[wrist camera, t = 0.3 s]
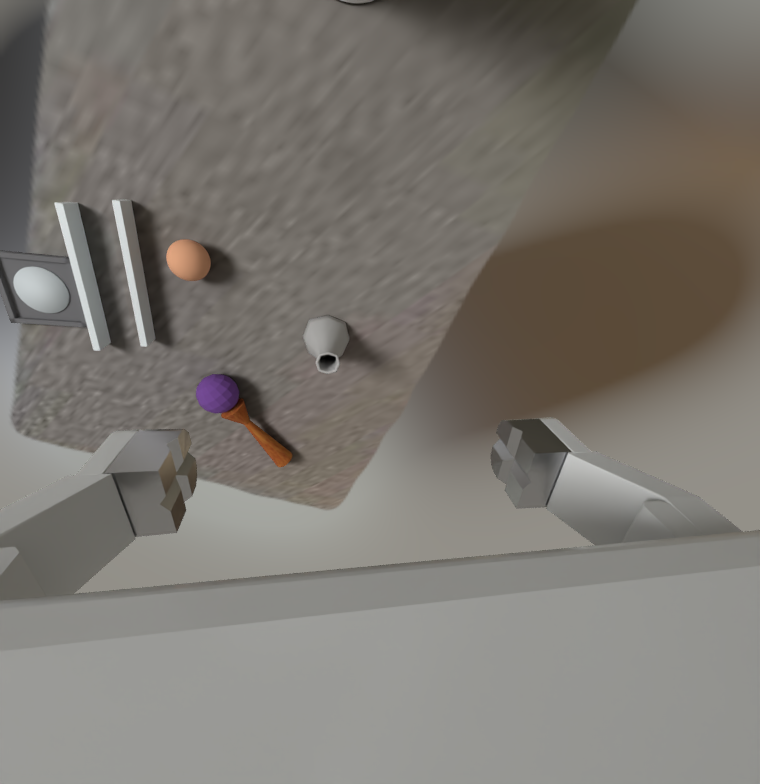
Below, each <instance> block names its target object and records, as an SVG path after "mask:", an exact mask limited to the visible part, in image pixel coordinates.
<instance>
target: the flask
mask: <svg viewBox="0 0 760 784" xmlns="http://www.w3.org/2000/svg"><path fill="white" fill-rule="evenodd" d="M303 338H304V341H305V344H306V347H307V350H308V353H309V354H311V355H313V356H314V357H315V358H317V360H316V365H317V368H318V371H320V372H323V373H325V374H330V373H334V372H337V370H338V367H339V365H340V361H339V357H340V356H342V355H343V353H344V351H345V348H346V346H347V344H348V342H349V340H350V338H349V334H348V331H347V327H346V323H345V322H344V321H341V320H339V319H337V318H334V317H332V316H329V315H325V316H321V317H317V318H313V319H309V321H308V324H307V327H306V329H305V332H304V334H303Z"/></svg>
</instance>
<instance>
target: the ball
mask: <svg viewBox="0 0 760 784" xmlns="http://www.w3.org/2000/svg"><path fill="white" fill-rule="evenodd" d="M166 257H167V263H168V266H169V268H170V269H171V271H172V272H173V273H174V274H175V275H176V276H178V277H179V278H181V279H184V280H187V281H197V280H200V279H202V278H204V277H205V276H206V275H207V274H208V272H209V270H210V266H211V261H210V257H209V254H208V252H207V251H206V250H205V248H204V247H203V246H202V245H200V244H199V243H197V242H195V241H192V240H187V239H183V240H178V241H176V242H174V243H173V244H172V245H171V246H170V247H169V249H168V251H167V256H166Z"/></svg>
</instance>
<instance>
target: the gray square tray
mask: <svg viewBox="0 0 760 784" xmlns="http://www.w3.org/2000/svg"><path fill="white" fill-rule="evenodd" d="M0 294H1V297H2V299H3V302H4V305H5V308H6V310H7V313H8V316H9V318H10V321H11V323H27V324H43V325H59V326H74V327H87V324H86V320H85V316H84V312H83V309H82V305H81V301H80V297H79V293H78V290H77V286H76V282H75V278H74V275H73V271H72V267H71V263H70V260H69V257H64V256H53V255H43V254H32V253H22V252H11V251H0Z"/></svg>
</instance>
